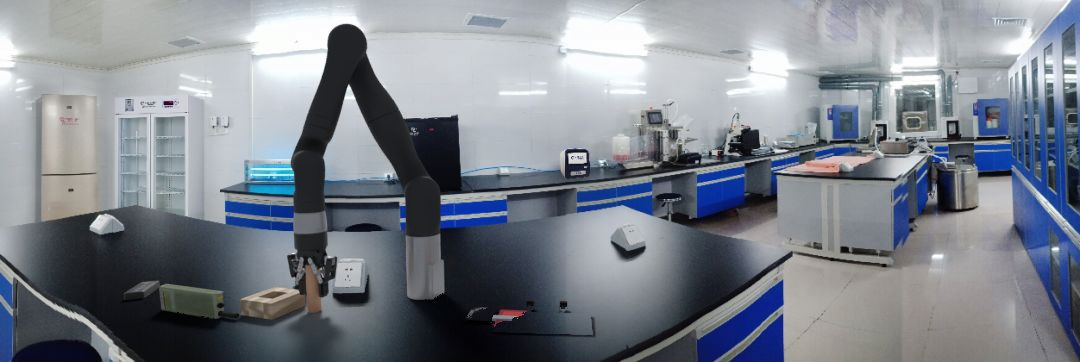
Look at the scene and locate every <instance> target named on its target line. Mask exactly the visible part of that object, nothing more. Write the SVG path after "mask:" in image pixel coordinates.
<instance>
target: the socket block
mask: <svg viewBox="0 0 1080 362" xmlns="http://www.w3.org/2000/svg"><path fill="white" fill-rule="evenodd" d="M239 302H240V315H241V316H247V317H251V318H252V317H253V318H259V319H265V320H275V319H277V318H279V317H282V316H284V315H286V314H287V315H288V314H289V313H292V312H293V311H297V310H298V309H300V308H304V307H305V306H306V294H305V295H300V292H299V290H295V289H293V288H287V287H277V286H274V287H271V288H269V289H268V288H267V289H265V290H262V291H260V292H257V293H253V294H251V295H248V296H245V297H243V298H240V301H239Z"/></svg>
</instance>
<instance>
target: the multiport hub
mask: <svg viewBox="0 0 1080 362" xmlns="http://www.w3.org/2000/svg"><path fill="white" fill-rule="evenodd" d="M160 284H161V282H160V280H150V281H149V280H148V281H141V282H140V283H138V284H137V285H134V287H132V288H130V289H128V290H127V291H125V292H124V293H123V300H124V301H132V300H134V301H135V300H142V299H145V298H147V297H148V296H150V295H151V294H152V293H155V291H157V290H159V287H160V286H161V285H160Z"/></svg>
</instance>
